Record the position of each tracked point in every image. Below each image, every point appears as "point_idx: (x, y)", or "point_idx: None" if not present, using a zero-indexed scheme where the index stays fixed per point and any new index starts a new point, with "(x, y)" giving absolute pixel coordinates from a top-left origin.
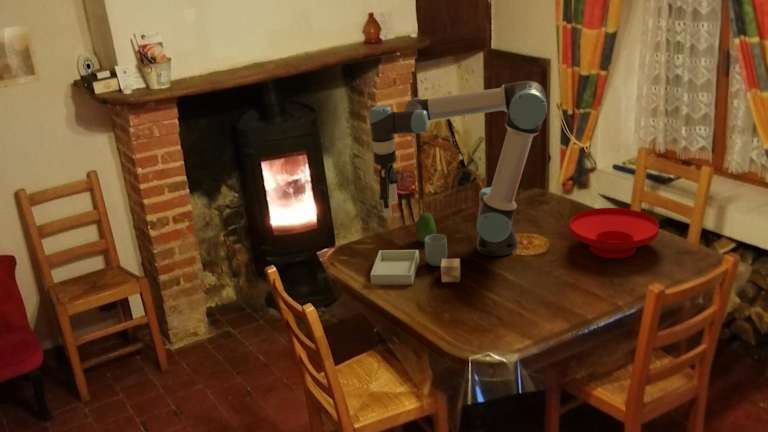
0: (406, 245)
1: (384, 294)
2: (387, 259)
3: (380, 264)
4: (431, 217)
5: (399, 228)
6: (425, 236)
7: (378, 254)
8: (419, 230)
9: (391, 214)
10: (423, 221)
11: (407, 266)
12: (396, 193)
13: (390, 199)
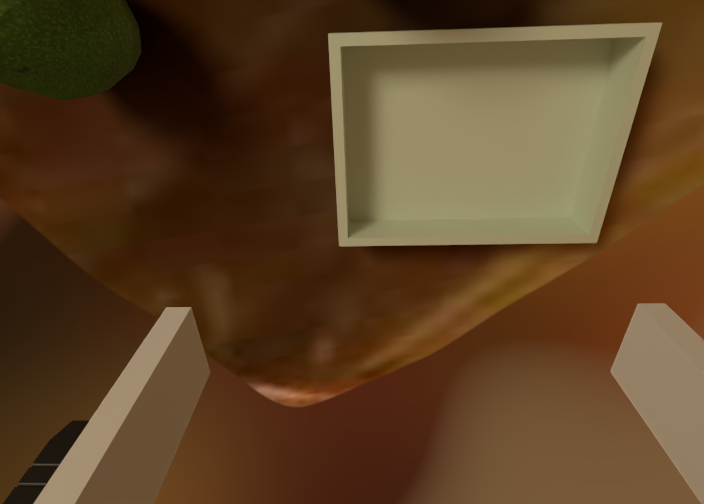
0: (174, 133)
1: (679, 150)
2: (352, 196)
3: (402, 217)
4: None
5: (2, 197)
6: (129, 18)
7: (383, 243)
8: (109, 62)
9: (672, 317)
10: (46, 30)
11: (431, 85)
12: (136, 387)
13: (199, 386)
